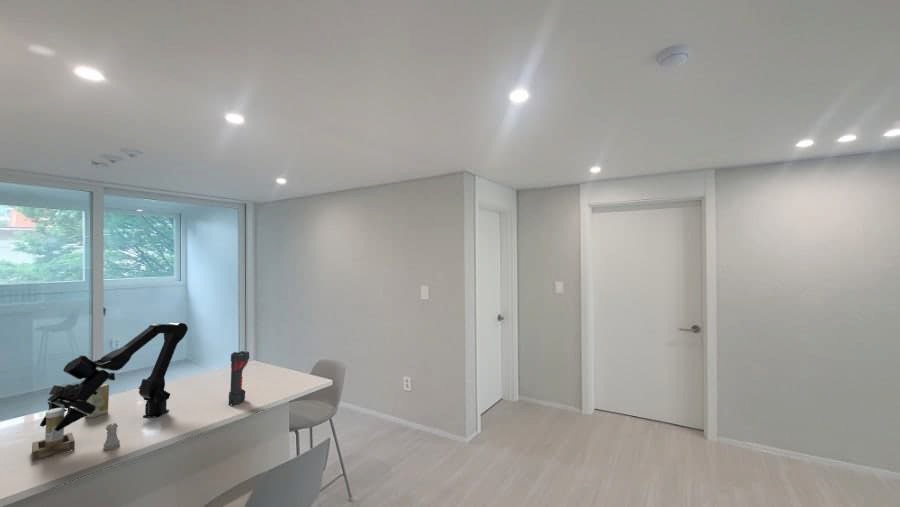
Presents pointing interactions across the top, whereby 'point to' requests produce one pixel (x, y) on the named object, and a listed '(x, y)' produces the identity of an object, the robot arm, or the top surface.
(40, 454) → the walnut holder
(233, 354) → the flashlight
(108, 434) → the rook chess piece
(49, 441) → the sprinkles bottle
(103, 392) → the skincare box
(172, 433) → the top surface
